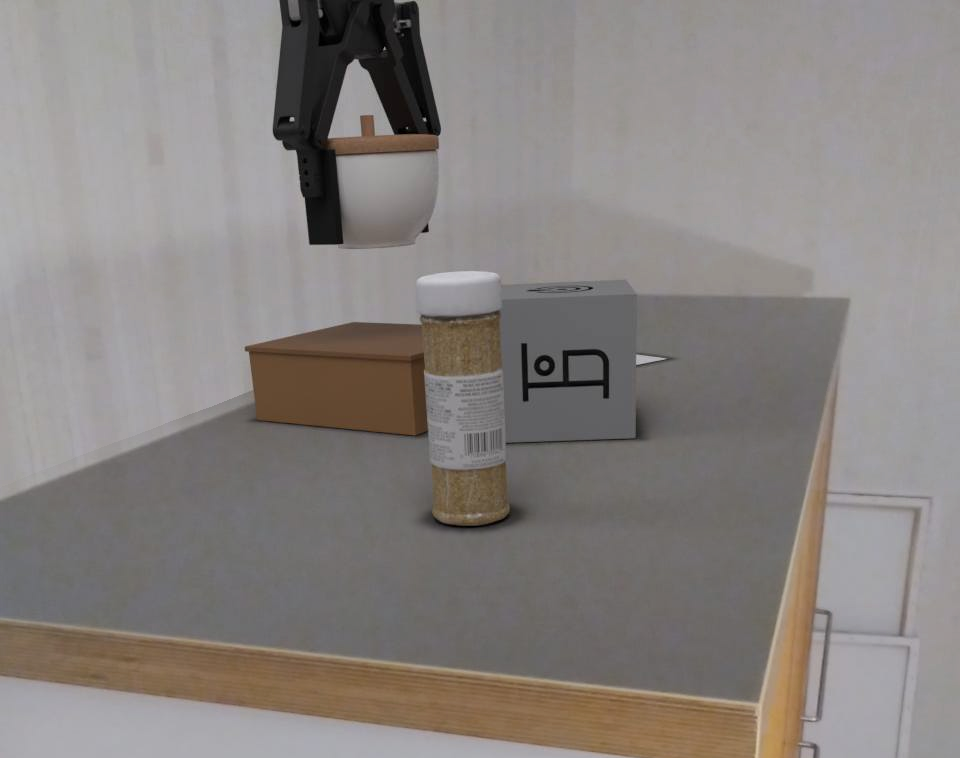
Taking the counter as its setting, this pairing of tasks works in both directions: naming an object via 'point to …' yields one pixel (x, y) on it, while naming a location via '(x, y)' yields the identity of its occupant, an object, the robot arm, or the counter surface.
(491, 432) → the sprinkles bottle
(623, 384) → the icon cube
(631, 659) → the counter surface
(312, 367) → the takeaway box
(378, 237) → the trinket box
